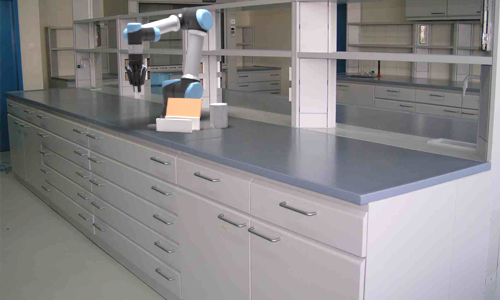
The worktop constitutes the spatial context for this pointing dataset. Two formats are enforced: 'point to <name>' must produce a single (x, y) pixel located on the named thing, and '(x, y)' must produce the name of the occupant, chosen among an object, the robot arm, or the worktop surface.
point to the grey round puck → (152, 127)
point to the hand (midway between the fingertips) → (137, 98)
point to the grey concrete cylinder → (218, 115)
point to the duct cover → (184, 107)
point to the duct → (178, 124)
